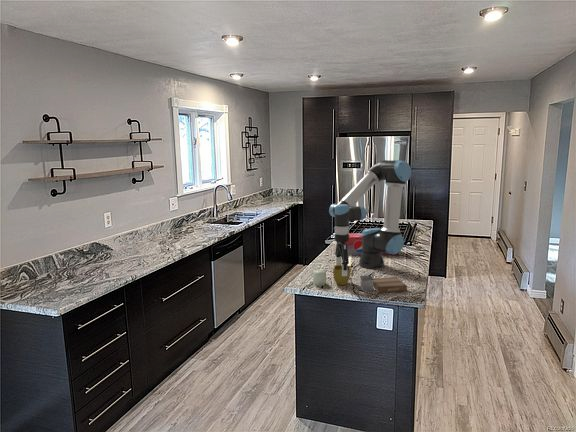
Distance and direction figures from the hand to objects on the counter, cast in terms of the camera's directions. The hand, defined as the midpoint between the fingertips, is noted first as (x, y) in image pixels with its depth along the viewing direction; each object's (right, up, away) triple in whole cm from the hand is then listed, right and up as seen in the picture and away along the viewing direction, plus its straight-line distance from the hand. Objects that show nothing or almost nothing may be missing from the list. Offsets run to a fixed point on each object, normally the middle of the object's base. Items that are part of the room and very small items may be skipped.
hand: (341, 272), depth 225 cm
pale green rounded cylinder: (-12, -7, +2) cm, 13 cm away
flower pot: (+1, -6, +1) cm, 7 cm away
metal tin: (+12, -8, -9) cm, 17 cm away
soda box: (+28, +4, +63) cm, 69 cm away
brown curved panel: (+24, -7, -7) cm, 26 cm away
